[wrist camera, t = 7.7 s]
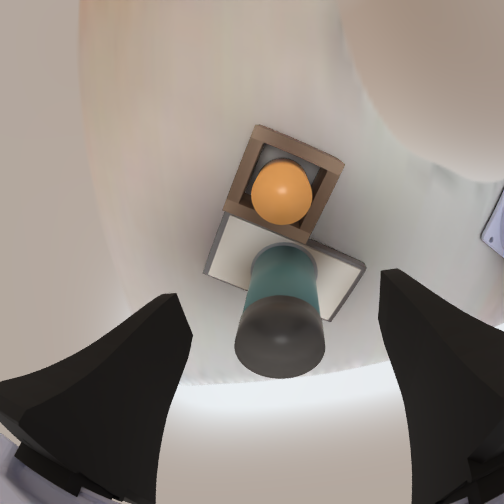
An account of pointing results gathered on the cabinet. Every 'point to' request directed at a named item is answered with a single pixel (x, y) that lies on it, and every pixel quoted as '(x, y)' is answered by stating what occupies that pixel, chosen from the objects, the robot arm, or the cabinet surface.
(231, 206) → the button collar
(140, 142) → the cabinet surface
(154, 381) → the robot arm
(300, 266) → the cylinder
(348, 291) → the drawing pad
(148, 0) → the cabinet surface
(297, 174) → the button
